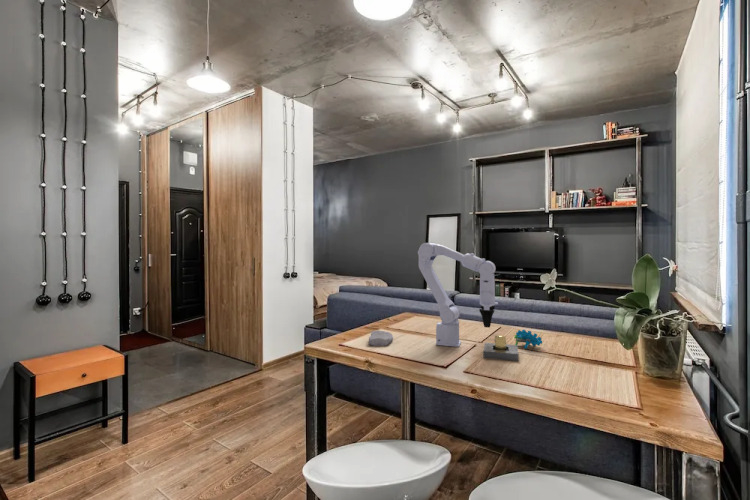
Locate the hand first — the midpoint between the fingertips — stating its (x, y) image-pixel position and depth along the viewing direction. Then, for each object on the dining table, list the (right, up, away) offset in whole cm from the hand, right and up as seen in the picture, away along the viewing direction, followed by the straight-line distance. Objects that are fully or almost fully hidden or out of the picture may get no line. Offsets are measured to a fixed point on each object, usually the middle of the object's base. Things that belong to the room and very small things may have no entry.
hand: (487, 325), depth 144 cm
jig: (+2, -10, -8) cm, 13 cm away
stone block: (-42, -10, +11) cm, 45 cm away
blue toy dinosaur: (+17, -10, +2) cm, 19 cm away
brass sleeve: (+2, -10, -8) cm, 13 cm away
